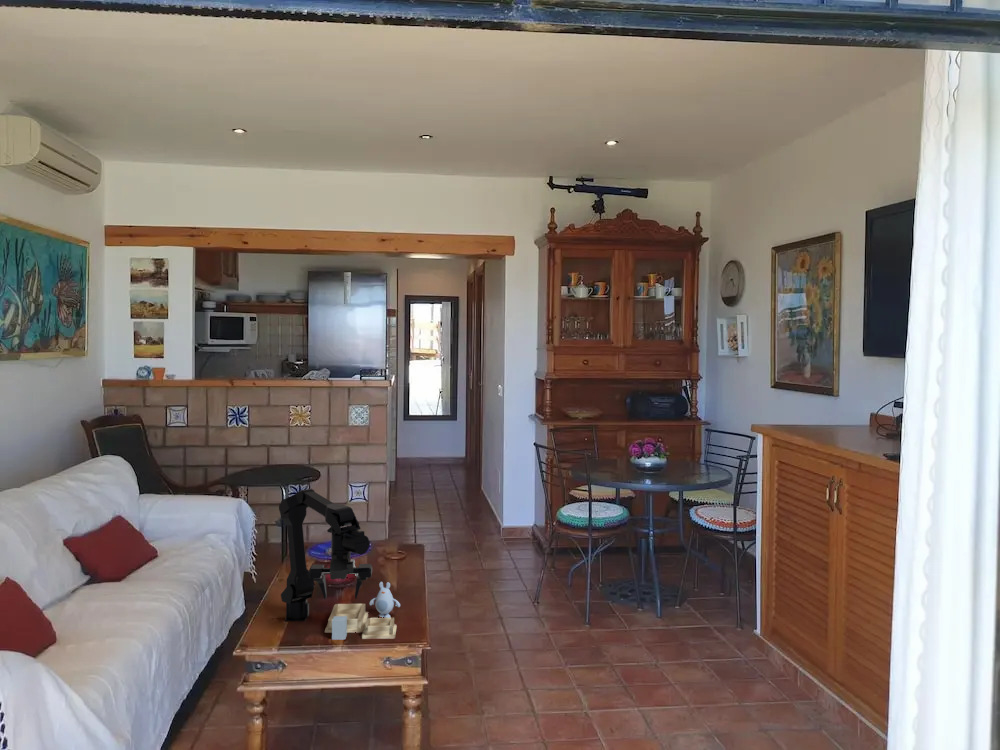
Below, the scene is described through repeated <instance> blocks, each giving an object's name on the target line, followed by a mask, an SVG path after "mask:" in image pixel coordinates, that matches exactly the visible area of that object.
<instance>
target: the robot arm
mask: <svg viewBox="0 0 1000 750" xmlns="http://www.w3.org/2000/svg"><path fill="white" fill-rule="evenodd" d="M278 505H279V506H278V510H279V513H280V519H281V520H282V521H283V523H284V524H285V525H286V532H287V542H288V544H287V545H288V554H289V565H290V572H289V573H288V576H287V578H286V587H285V589H284V590H283V591H282V592H281V594H280V598H281V602H283V603H285V609H286V610H285V619H284V622H305V621H306V620H307V619H308V617H309V615H310V602H308V599H312V597H313V594H314V590H315V585H316V584H315V582H317V584H318V586H319V587H320V590H321V592H322V596H323V598H324V600H327V583H326V582H327V581H326V575H329V578H330V580H346V577H347V575H348V574H358V577H356V585H355V593H354V599H355V600H356V599H357V598H358V594H359V591H360V588H361V585H362V584H363V582H364V581H367V579H368V578H372V574H373V565H372V563H359V565H358V567H357V566H356V567H354V565H353V562H351V553H353V554H356V555H364V554H366V553H367V552H368V550H369V548H370V545H371V542H370V539H369V537H368V536H367V535H365V531H364V530H361V525H360V522H359V521H358V519H357V517H356V515H355V512H354V510H353V508H352V507H351V506H349V505H345V504H340V503H339V504H338V503H335V502H332V501H331V500H329V499H327V498H325V496H323V495H320V493H317V492H315V490H314V489H312V488H307V489H301V490H298V491H297V492H296V493H294V494H292V495H290V496H288V497H287V498H283V499H282V500H281V502H280V503H278ZM308 508H311V509H312V510H313V511H315V512H316V513H318V514H320V515H321V516H323V517H324V521H325V522H326V524H327V525H329V526H330V527H329V528H328V529H327V530H326V531H327V533H329V534H331V542H330V543H331V553H330V554H331V555H330V556H331V560H330V563H329V567H325V564H312V565H311V566H310V567H309V570H308V568H307V567H308V566H307V557H306V548H305V539H304V538H305V537H304V528H303V526H304V525H303V523H304V522H305V519H306V517H307V511H308V510H307V509H308Z"/></svg>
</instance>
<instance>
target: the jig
mask: <svg viewBox="0 0 1000 750" xmlns="http://www.w3.org/2000/svg"><path fill="white" fill-rule="evenodd" d="M368 613H369V611H366V603H335V604H334V605H333V608H332V611H331V613H330V615H329V618H328V620H327V621H328V622H327V625H326V627H325V628H324V629H325V630H324V633H325V634H327V633H330V634H332V620H333V617H334V616H347V634H348V633H355V632H356V633H362V634H361V639H362V640H370V639H373V640H374V639H377V640H378V639H381V640H384V639H385V640H386V639H387V640H389V639H391V640H392V639H396V635H397V634H396V632H397V628H398V627H397V624H395V617H390V618H385V617H384V618H378V617H369V614H370V613H369V614H368Z"/></svg>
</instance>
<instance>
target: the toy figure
mask: <svg viewBox="0 0 1000 750" xmlns="http://www.w3.org/2000/svg"><path fill="white" fill-rule="evenodd" d="M385 585H386V586H384V583H383V581H380V582H379V584H378V586H379V588H380V589H379V591H378V593H377V595H376V597H374V598H371V600H370V601H369V603H368V604H369V606H372V605H373V606H375V608H376V610H377V612H378V613H379V614H378V616H380V617H382V618H383V617H384V618H392V617H391V615H390V612H391V611H393V609H394V607H397V608H400V607H401V603H400V602H399V601H398V600H397V599H396V598H394V596H393V594H392V592H391V590H390V588H391V583H390V582H389V581H387V582H386V583H385ZM394 605H395V606H394Z"/></svg>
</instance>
